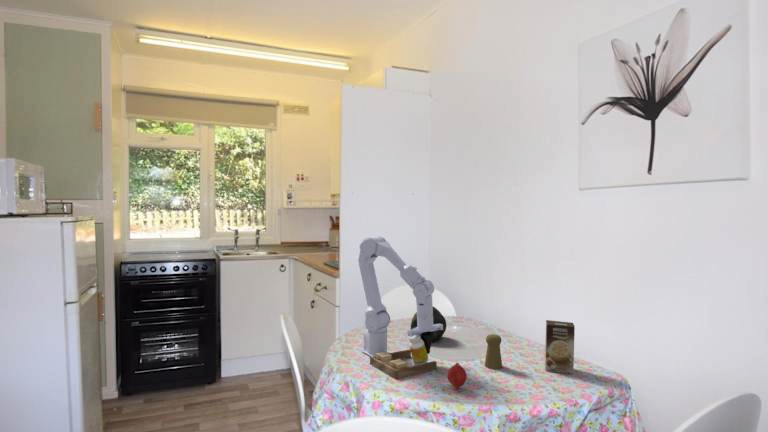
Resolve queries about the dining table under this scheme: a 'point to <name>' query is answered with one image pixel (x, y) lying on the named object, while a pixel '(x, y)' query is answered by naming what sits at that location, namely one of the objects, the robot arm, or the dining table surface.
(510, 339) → the dining table surface
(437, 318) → the squash
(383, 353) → the block
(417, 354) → the supplement bottle
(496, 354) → the cork
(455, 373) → the onion
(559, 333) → the coffee box
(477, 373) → the dining table surface
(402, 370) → the corral
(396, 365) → the block
